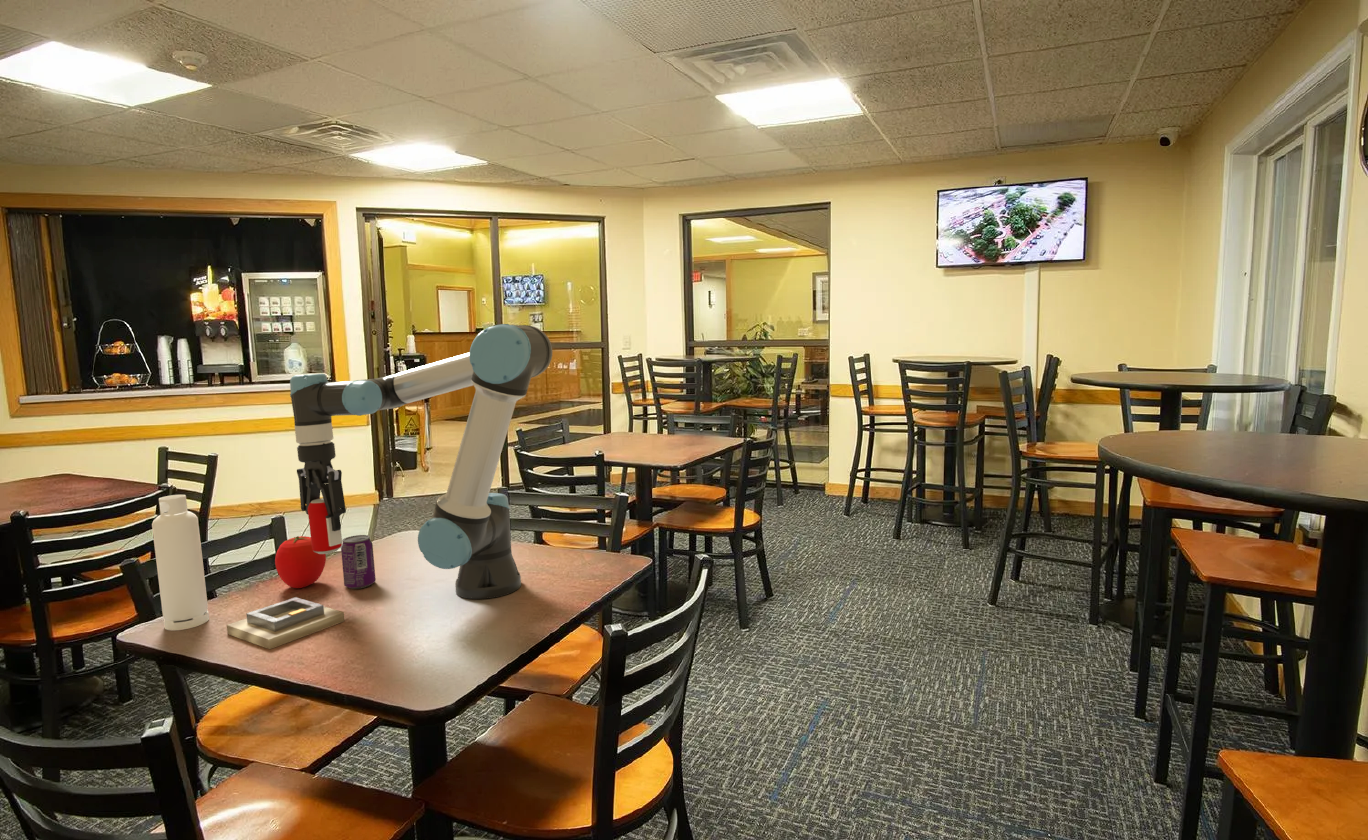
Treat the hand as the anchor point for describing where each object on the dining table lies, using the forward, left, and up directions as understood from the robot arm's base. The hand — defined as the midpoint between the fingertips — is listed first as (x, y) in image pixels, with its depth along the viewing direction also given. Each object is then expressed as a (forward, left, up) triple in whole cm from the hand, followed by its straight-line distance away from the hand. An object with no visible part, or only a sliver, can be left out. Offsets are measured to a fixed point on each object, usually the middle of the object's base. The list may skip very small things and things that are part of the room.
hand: (326, 542), depth 165 cm
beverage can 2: (+6, -11, -15) cm, 19 cm away
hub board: (-4, +13, -14) cm, 20 cm away
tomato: (+19, -4, -15) cm, 24 cm away
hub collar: (-4, +13, -12) cm, 19 cm away
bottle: (+19, +22, -15) cm, 32 cm away
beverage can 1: (0, 0, -2) cm, 2 cm away
